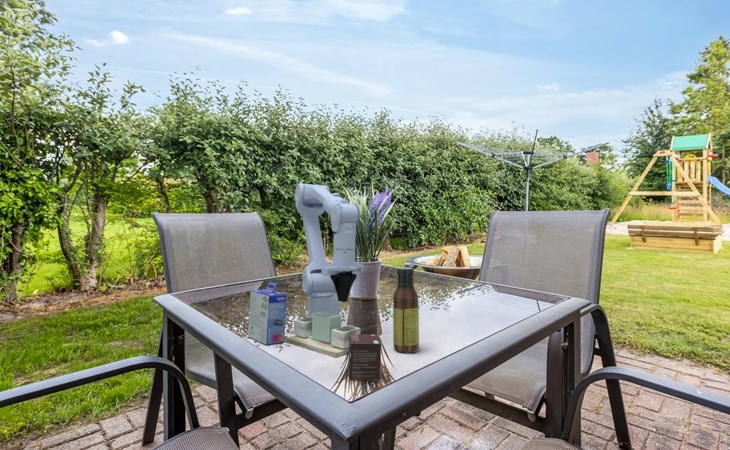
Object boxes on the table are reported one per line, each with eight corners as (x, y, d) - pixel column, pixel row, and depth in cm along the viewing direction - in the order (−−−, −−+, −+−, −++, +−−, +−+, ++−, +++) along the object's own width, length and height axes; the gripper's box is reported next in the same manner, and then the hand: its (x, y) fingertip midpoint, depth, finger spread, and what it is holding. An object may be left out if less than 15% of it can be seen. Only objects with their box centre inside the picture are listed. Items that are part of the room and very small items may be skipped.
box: (347, 369, 79) (348, 333, 79) (376, 369, 79) (377, 333, 79) (349, 381, 73) (350, 342, 73) (380, 381, 73) (381, 342, 73)
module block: (322, 334, 98) (323, 310, 98) (340, 339, 94) (341, 314, 94) (311, 337, 95) (312, 313, 95) (329, 342, 91) (330, 317, 91)
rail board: (317, 333, 104) (317, 314, 104) (366, 346, 94) (366, 325, 94) (286, 342, 95) (286, 321, 95) (336, 357, 85) (336, 334, 85)
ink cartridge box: (286, 342, 96) (287, 284, 96) (266, 346, 92) (268, 286, 92) (266, 333, 103) (268, 279, 103) (247, 337, 99) (249, 281, 99)
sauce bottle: (420, 347, 94) (423, 267, 94) (415, 355, 88) (418, 270, 88) (395, 344, 96) (397, 265, 96) (388, 351, 90) (391, 268, 90)
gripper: (337, 251, 91) (335, 307, 91) (372, 249, 103) (371, 299, 103) (316, 249, 96) (314, 303, 95) (352, 247, 107) (351, 296, 107)
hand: (342, 301), depth 99 cm, fingers closed
